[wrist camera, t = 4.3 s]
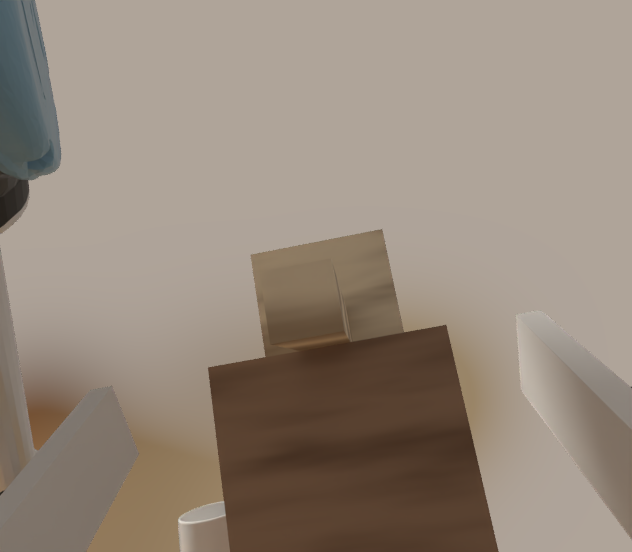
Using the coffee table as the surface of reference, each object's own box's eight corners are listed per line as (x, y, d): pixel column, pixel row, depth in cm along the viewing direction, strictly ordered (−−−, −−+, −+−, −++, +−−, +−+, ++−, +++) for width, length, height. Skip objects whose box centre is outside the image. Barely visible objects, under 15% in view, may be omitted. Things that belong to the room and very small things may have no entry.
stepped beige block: (445, 312, 18) (397, 106, 20) (173, 361, 19) (152, 159, 20) (398, 343, 42) (379, 250, 44) (282, 364, 43) (268, 271, 45)
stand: (590, 950, 20) (446, 325, 26) (280, 977, 21) (208, 367, 27) (482, 671, 39) (412, 341, 45) (319, 691, 40) (271, 366, 45)
